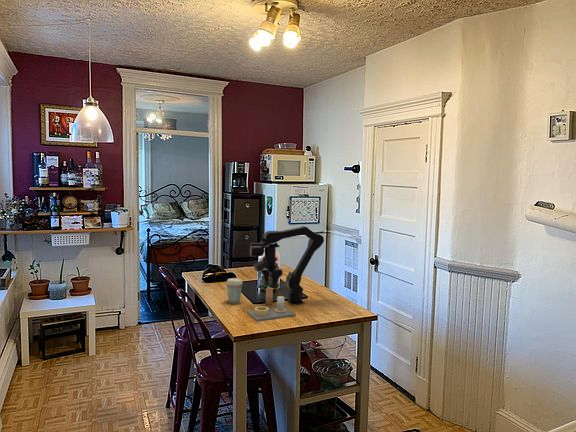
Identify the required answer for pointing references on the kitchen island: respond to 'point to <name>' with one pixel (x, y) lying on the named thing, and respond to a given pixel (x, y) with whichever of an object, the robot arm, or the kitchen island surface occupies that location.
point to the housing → (271, 311)
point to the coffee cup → (234, 290)
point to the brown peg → (269, 295)
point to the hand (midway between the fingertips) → (269, 285)
